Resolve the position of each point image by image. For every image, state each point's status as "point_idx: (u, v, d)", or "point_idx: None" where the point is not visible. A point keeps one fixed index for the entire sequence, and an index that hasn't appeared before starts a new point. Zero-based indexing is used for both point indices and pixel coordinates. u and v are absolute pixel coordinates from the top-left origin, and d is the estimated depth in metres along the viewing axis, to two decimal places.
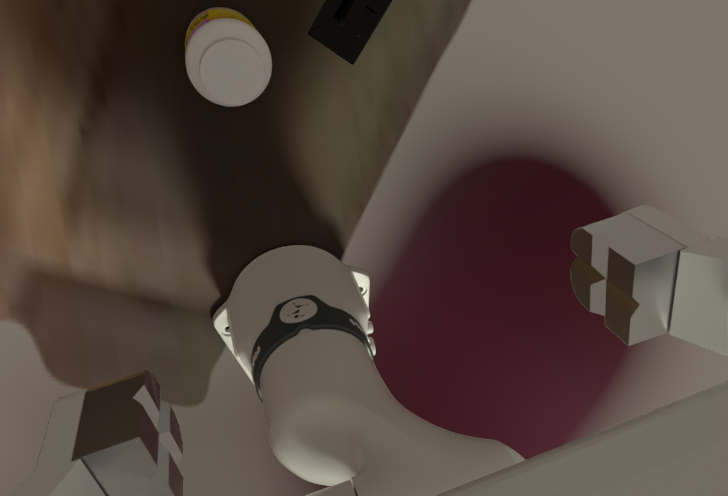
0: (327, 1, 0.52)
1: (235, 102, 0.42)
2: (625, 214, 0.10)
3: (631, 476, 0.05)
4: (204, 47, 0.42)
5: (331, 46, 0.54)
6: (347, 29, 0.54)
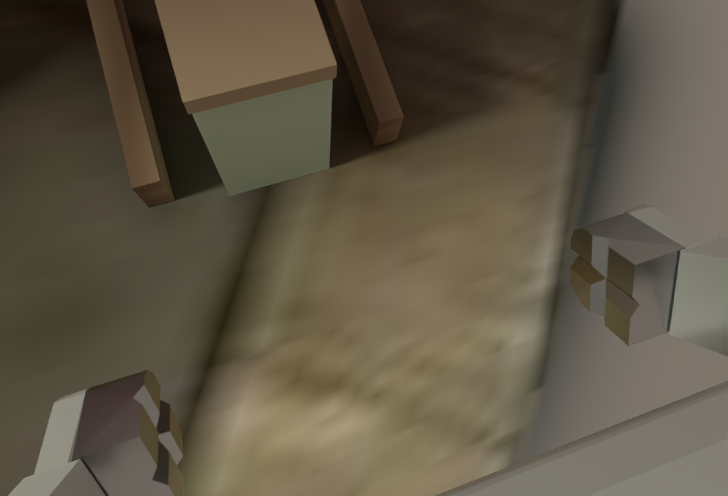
0: None
1: None
2: (625, 214, 0.10)
3: (630, 475, 0.05)
4: None
5: None
6: None
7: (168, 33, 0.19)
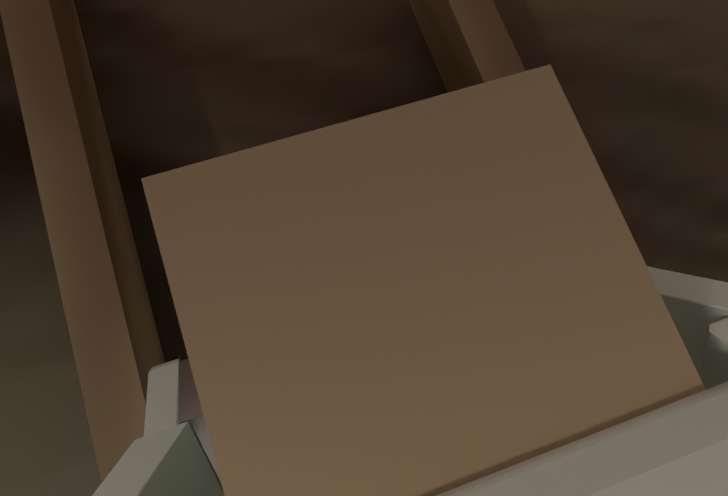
0: None
1: None
2: None
3: (631, 476, 0.05)
4: None
5: None
6: None
7: (214, 397, 0.06)
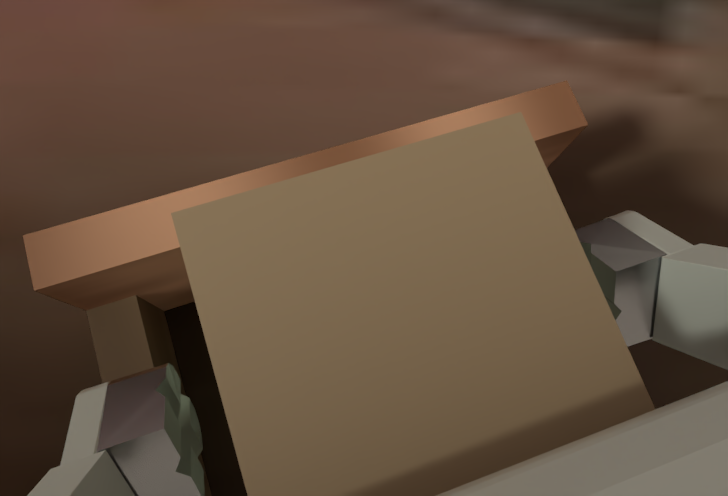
0: None
1: None
2: (608, 219, 0.10)
3: (631, 476, 0.05)
4: None
5: None
6: None
7: (234, 399, 0.07)
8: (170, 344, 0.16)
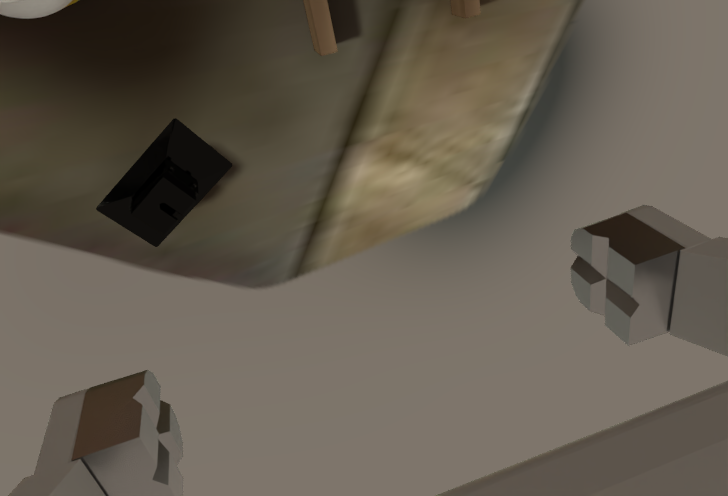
0: (127, 177, 0.42)
1: None
2: (625, 214, 0.10)
3: (629, 476, 0.05)
4: None
5: (128, 225, 0.44)
6: None
7: None
8: None
